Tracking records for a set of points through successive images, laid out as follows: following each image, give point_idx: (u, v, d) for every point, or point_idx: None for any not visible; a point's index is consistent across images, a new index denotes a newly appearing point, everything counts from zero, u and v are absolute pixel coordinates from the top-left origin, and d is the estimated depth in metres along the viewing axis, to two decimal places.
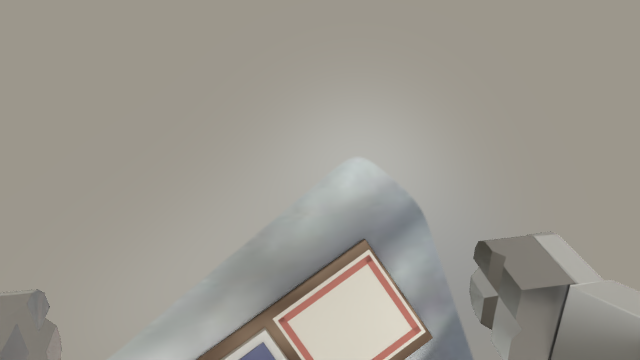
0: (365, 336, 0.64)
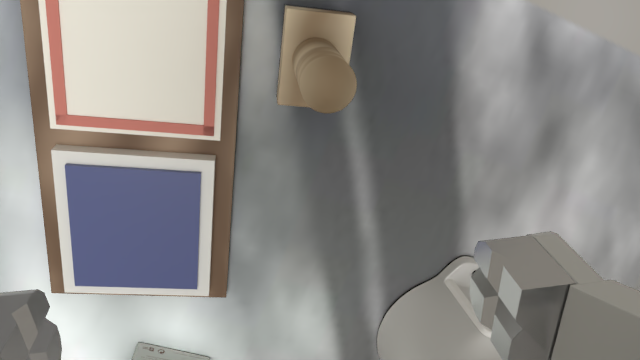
0: (166, 33, 0.37)
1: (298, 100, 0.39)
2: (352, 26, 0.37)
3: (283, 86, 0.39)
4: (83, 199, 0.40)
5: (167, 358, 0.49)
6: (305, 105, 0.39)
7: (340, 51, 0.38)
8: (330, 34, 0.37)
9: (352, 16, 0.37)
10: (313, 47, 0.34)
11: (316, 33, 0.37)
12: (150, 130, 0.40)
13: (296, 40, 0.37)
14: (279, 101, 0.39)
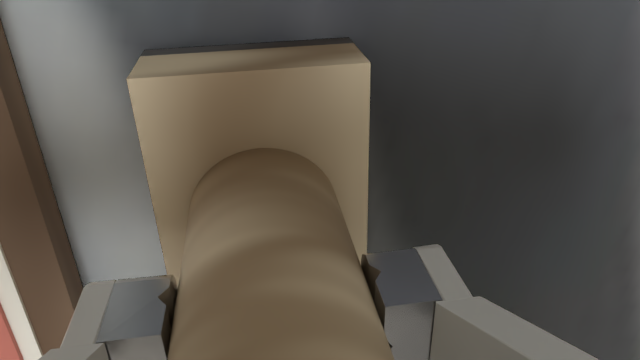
0: None
1: None
2: (362, 96, 0.11)
3: None
4: None
5: None
6: None
7: (335, 174, 0.12)
8: (296, 133, 0.11)
9: (358, 64, 0.11)
10: (223, 245, 0.09)
11: (248, 138, 0.11)
12: None
13: (190, 170, 0.11)
14: None
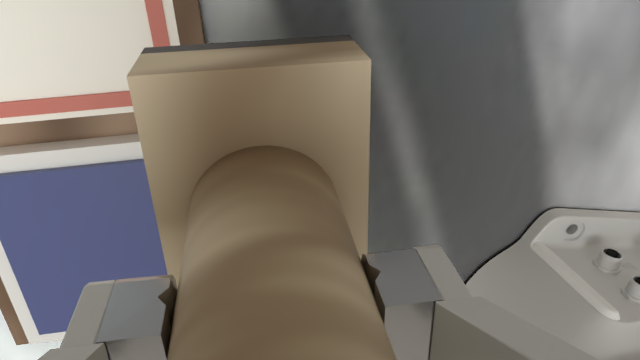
0: None
1: None
2: (363, 93, 0.11)
3: None
4: (16, 221, 0.28)
5: None
6: None
7: (336, 172, 0.12)
8: (296, 131, 0.11)
9: (359, 61, 0.11)
10: (224, 242, 0.08)
11: (249, 135, 0.11)
12: (86, 108, 0.27)
13: (190, 167, 0.11)
14: None
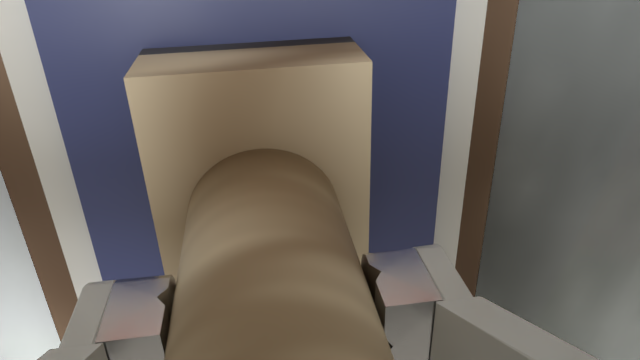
0: None
1: None
2: (364, 95, 0.11)
3: None
4: (100, 90, 0.13)
5: None
6: None
7: (336, 175, 0.12)
8: (296, 133, 0.11)
9: (359, 63, 0.11)
10: (221, 248, 0.08)
11: (248, 138, 0.11)
12: None
13: (188, 171, 0.11)
14: None
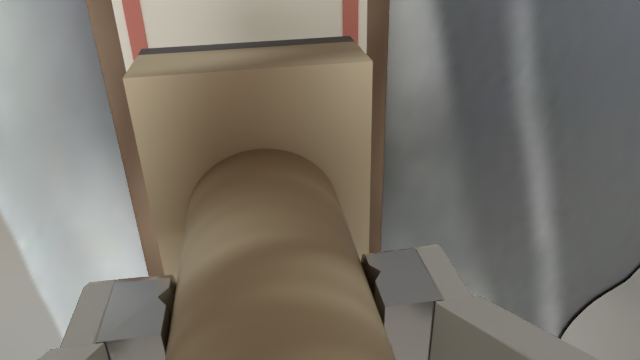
0: (288, 30, 0.27)
1: None
2: (364, 95, 0.11)
3: None
4: None
5: None
6: None
7: (337, 175, 0.12)
8: (296, 134, 0.11)
9: (360, 63, 0.11)
10: (222, 249, 0.08)
11: (248, 138, 0.11)
12: None
13: (188, 171, 0.11)
14: None
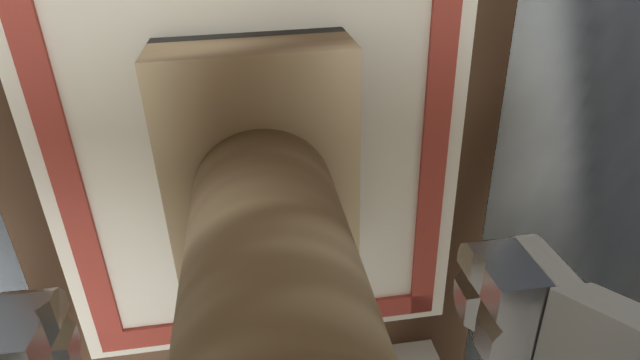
0: None
1: None
2: (354, 80, 0.12)
3: None
4: None
5: None
6: None
7: (329, 154, 0.13)
8: (292, 115, 0.12)
9: (350, 50, 0.12)
10: (225, 211, 0.09)
11: (248, 119, 0.12)
12: None
13: (193, 149, 0.12)
14: None
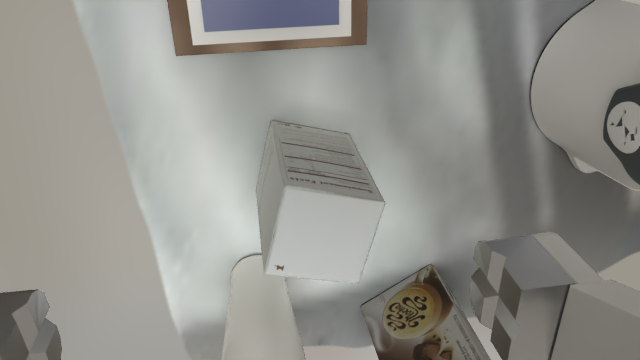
0: None
1: None
2: None
3: None
4: None
5: (307, 131, 0.44)
6: None
7: None
8: None
9: None
10: None
11: None
12: None
13: None
14: None
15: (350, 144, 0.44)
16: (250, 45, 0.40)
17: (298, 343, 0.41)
